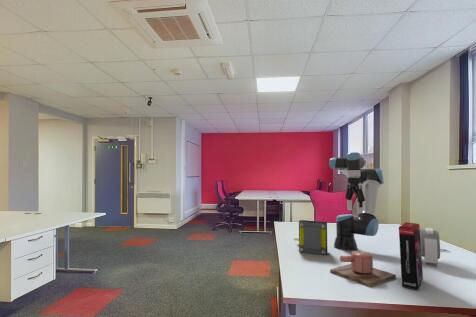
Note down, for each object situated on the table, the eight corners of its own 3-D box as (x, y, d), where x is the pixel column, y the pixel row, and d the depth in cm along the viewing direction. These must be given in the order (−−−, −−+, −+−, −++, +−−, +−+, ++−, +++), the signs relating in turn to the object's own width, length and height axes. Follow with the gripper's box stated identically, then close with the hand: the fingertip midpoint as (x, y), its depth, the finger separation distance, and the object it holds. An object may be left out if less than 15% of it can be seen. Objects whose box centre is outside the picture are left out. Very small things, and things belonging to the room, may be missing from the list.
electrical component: (298, 252, 176) (298, 221, 177) (300, 248, 185) (300, 219, 187) (326, 255, 169) (325, 223, 171) (327, 251, 178) (327, 221, 180)
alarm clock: (441, 269, 146) (439, 231, 147) (422, 266, 150) (421, 229, 152) (437, 260, 161) (436, 226, 162) (420, 258, 165) (419, 225, 167)
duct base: (330, 272, 139) (329, 253, 140) (355, 265, 151) (355, 248, 152) (370, 287, 121) (369, 265, 121) (395, 277, 133) (395, 258, 133)
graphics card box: (418, 291, 117) (416, 228, 119) (400, 287, 121) (398, 226, 123) (423, 280, 130) (420, 223, 132) (406, 276, 134) (404, 221, 136)
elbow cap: (366, 266, 141) (365, 251, 142) (376, 273, 132) (375, 256, 132) (337, 266, 140) (337, 251, 141) (345, 273, 131) (345, 256, 132)
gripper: (370, 177, 154) (371, 214, 153) (350, 177, 179) (351, 209, 178) (358, 177, 154) (358, 214, 152) (339, 177, 179) (340, 209, 177)
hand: (354, 211), depth 165 cm, fingers open, 13 cm apart
